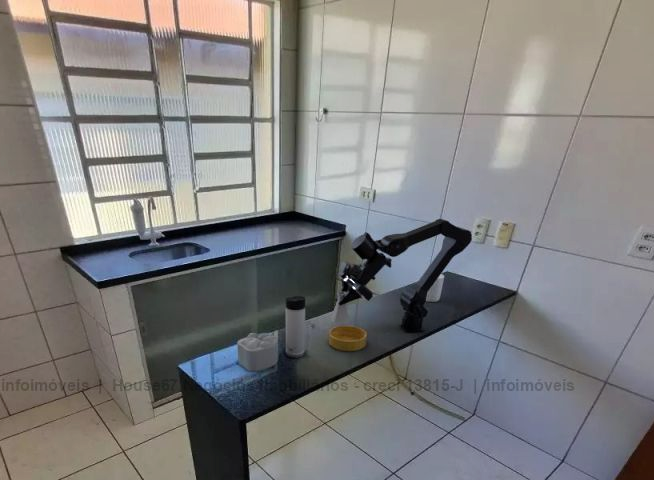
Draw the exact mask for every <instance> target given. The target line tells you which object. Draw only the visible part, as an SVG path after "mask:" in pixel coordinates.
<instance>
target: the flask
mask: <svg viewBox="0 0 654 480" xmlns="http://www.w3.org/2000/svg"><path fill="white" fill-rule="evenodd" d="M345 294H346V292H339V291H337V292H336V296H337V295H338V300H337V302H336V304H335V307H334V309H333V311H332V313H331V316H330V321H331V322H332V323H334V324H346V323H350V322H351V317H350V316H351V315H350V314H349V309H348V307H347V303H346V304H343V305H341V306H340V305H339V304H338V303H339V302H340V300H341V299H342V298H343V296H344V295H345Z"/></svg>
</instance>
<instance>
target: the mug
mask: <svg viewBox="0 0 654 480" xmlns="http://www.w3.org/2000/svg"><path fill="white" fill-rule="evenodd" d="M444 279H445V275H444V274H442V273H441V274H440V276H439V277H438V278H437V280H436V281H435V283H434V284H433V285H432V287H431V288H430V289H429V291H428V292H427V297H426V301H425V303H436V302H438V301H440V298H441V295H442V291H443V284H444Z"/></svg>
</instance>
